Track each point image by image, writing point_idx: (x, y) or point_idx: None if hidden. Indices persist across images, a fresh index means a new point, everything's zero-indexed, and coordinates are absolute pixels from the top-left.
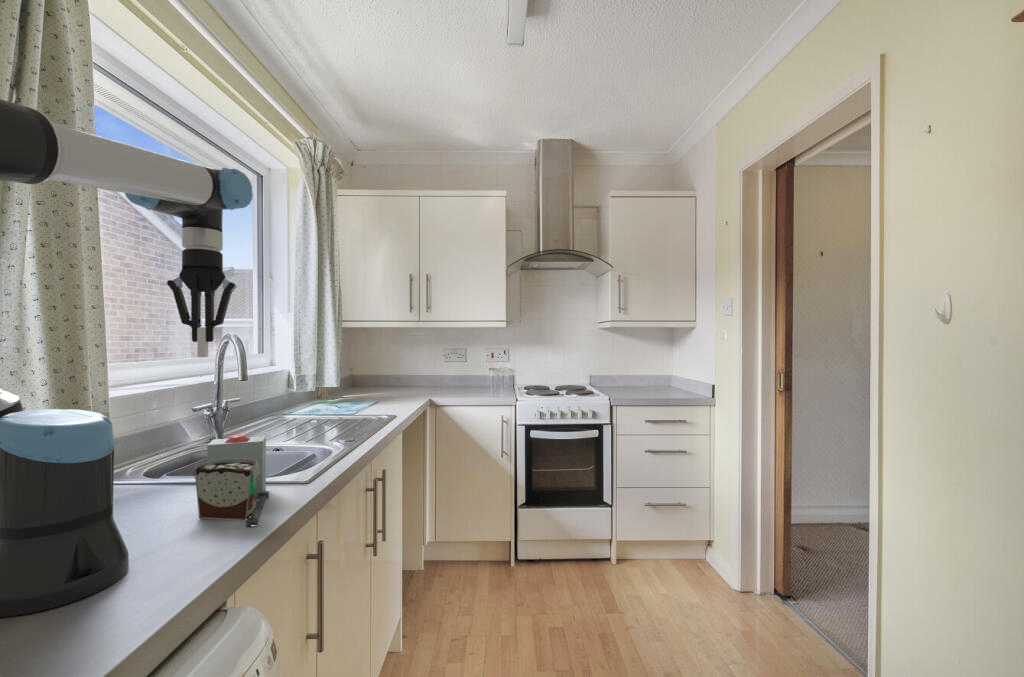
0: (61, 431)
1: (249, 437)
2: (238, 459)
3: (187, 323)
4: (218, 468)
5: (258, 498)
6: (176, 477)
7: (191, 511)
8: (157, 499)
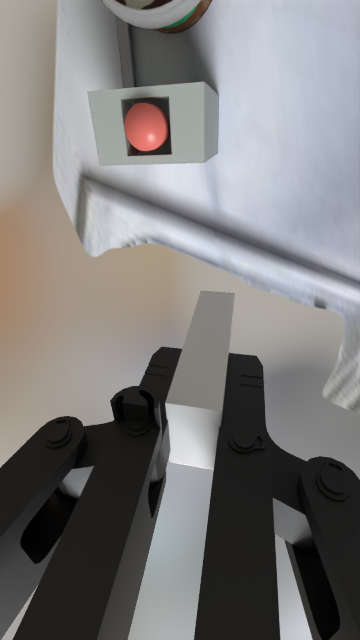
0: None
1: (130, 159)
2: (128, 8)
3: (304, 471)
4: None
5: None
6: (290, 293)
7: (238, 52)
8: (304, 164)
